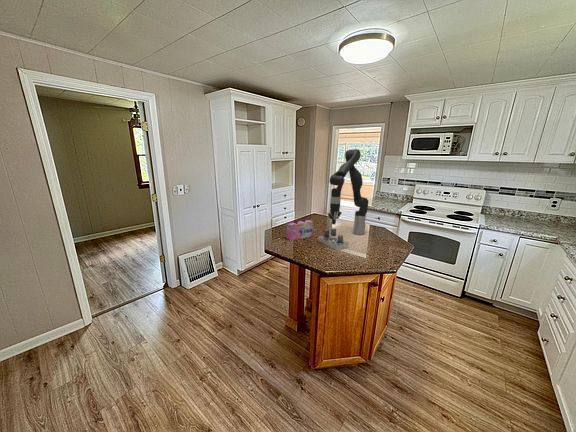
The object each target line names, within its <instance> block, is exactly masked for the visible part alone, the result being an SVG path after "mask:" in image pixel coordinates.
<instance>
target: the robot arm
mask: <svg viewBox="0 0 576 432" xmlns="http://www.w3.org/2000/svg"><path fill="white" fill-rule="evenodd" d="M344 157H345V162H344V163H343V164H342V165H341V166H340V167H339V168H338V170H337V171H336V172H334V173H333V174H331V176H330V178H329V184H330V185H331V186H337V187H336V188H335V187H334V188H332V189H331V190H330V191H331V193H330V202H329V208H330V209H329V212H327V213H326V214H327V216H328V218H329V219H330V220H331V224H332V225H336V224H337V220H338V219H339V218H340V217H341V215H342V214H343V213H342V212H341V211H340V209H341V197H342V195H341V192H342V189H343V186H344V183H345V177H346V176H347V175H348V173H349V177H350V178H349V179H350V183H351V189H352V194H353V196H352V197H353V204H354V206H355V207H357V208H359V209H358V210H356V211H355V212H354V221H353V234H354V235H355V236H356V235H357V236H362V235H366V234H365V231H366V226H367V225H366V217H367V213H368V208H369V199H368V198H367V197H362V194H361V189H362V186H363V183H364V181H363V175H362V173H361V172H360V171H359V170H358V169H357V167H355V165H356V164H357V162H358V161H359V160H360V159H361V151H360V149H357V148H355V149H354V148H353V149H348V150H346V151H345V153H344Z"/></svg>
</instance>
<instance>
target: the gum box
mask: <svg viewBox="0 0 576 432" xmlns="http://www.w3.org/2000/svg"><path fill="white" fill-rule="evenodd" d="M285 225H286V229H285V231H286V234H285V236H286V239H287V240H289V241H294V240H295V241H296V240H300V239H305V238H306V237H307V238H311V237H313V236H314V221H313V220H311V219H303V220H302V219H301V220H296V221H289V222H288V221H287V222H286V224H285Z"/></svg>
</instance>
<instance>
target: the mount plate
mask: <svg viewBox="0 0 576 432" xmlns="http://www.w3.org/2000/svg"><path fill="white" fill-rule="evenodd" d="M317 241H318V242H319V243H321V244H323V245H325V246H327V247H329V248H331V249H333V250H335V251H339V250H344V249H348V248H349V245H350V244H349V241H347V240H344V239H343V243H338V242H337V241H338V236H331V233H329V237H325V236H324V234H323V235H318V240H317Z"/></svg>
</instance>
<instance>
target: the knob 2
mask: <svg viewBox="0 0 576 432" xmlns="http://www.w3.org/2000/svg"><path fill="white" fill-rule="evenodd" d="M337 238H338V241H337V242H338V243H343V240H344V236H343V235H342V234H338V235H337Z"/></svg>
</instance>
